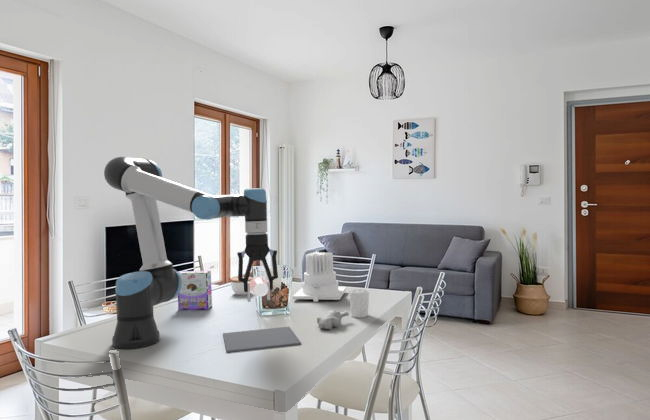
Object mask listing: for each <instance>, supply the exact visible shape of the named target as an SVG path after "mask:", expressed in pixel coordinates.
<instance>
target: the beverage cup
mask: <svg viewBox="0 0 650 420" xmlns="http://www.w3.org/2000/svg"><path fill="white" fill-rule="evenodd" d="M251 278H252V279H251V280H250V292H251V293H253V294H255V295H256V296H258V297H259V298H260V297H266V296H267V292H268V287H267V283H266V279H265V278H264V277H263V276H254V277H251Z"/></svg>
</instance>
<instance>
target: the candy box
mask: <svg viewBox="0 0 650 420" xmlns="http://www.w3.org/2000/svg"><path fill="white" fill-rule="evenodd" d="M178 273H179V274H180V276H181V280H182V286H181V290H180V292H179V293H178V295H177V303H178V304H177V306H178V308H177V309H178V311H188V310H189V311H191V310H193V311H194V310H195V311H198V310H199V311H200V310H203V311H204V310H205V311H206V310H210V309H211V308H212V307H213V295H212V289H213V287H212V271H211V270H189V271H186V270H184V271H179V272H178Z"/></svg>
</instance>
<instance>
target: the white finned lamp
mask: <svg viewBox="0 0 650 420" xmlns="http://www.w3.org/2000/svg"><path fill="white" fill-rule="evenodd" d="M336 273H337V272H336V271H334V254H333V253H332V252H324V251H323V252H319V251H313V252H310V253H307V254H305V272H304V273H303V281H302V282H301V288H300V289H299V290H298V291H296V293H294V295H292V300H313V301H312V302H314V303H318V302H319V300H321V301H322V300H325V301H326V300H331V301H332V300H334V301H335V300H336V301H337V300H339V301H340V300H341V299H342V297H343V295H344V294H345V292H346V291H347V287H346V286H339V281H338V280H337V276H336V275H337V274H336Z"/></svg>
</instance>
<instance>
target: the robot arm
mask: <svg viewBox="0 0 650 420" xmlns="http://www.w3.org/2000/svg"><path fill="white" fill-rule="evenodd" d="M103 170H104V172H103V173H104V174H103V175H104V179H105V182H106V183H107V184H108V185H109V186H110V187H112V188H113V189H116V190H118V191H122V192H125V197H126V198H127V199H129V200H130V201H131V206H132V211H133V217H134V222H135V223H134V224H135V227H136V232H137V239H138V244H139V251H140V254H141V259H142V265H141V267H140V268H139V271H133V272H129V273H125V274H122V275H120V276H119V277H117V279H116V281H115V291H114V292H115V301H116V303H115V305H116V326H115V329H114V333H113V336H112V339H111V341H112V342H111V344H112V347H113V348H116V349H123V350H129V349H131V348H132V349H139V348H144V347H149V346H152V345H154V344H156V343H158V342H159V341H160V340H161V339H160V338H161V335H160V331H159V330H158V326H157V323H156V320H155V318H154V317H155V315H154V306H157V305H160V304H163V303H166V302H170V301H171V300H172V299H174V298H176V297H178V293H179V292H180V290H181V286H182V280H181V276H180V274H179V272H178V270H176V269H175V268H174V266H173V263H172V262H171V261H170V260H168V257H167V252H166V247H165V239H164V235H163V230H162V224H161V218H160V214H159V208H158V202H157V201H159V202H161V203H164V204H166V205H170V206H172V207H175V208H178V209H182V210H184V211H186V212H189V213H192V214H193V215H194V216H195V217H196V218H197V219H201V220H207V221H208V220H213V219H218V218H230V217H231V218H232V217H244V223H245V224H244V225H245V227H244V232H245V233H246V234H245V248H244V250H242V251H237V253H236V255H237V257H238V267H237V268H238V269H237V273H238V274H237V277H238V280H239V281H241V282H243V283H244V291H245V292H247V294H246V299H247V302H248V303H250V302H252V301H251V290H250V282H248V278H249V277H250V275H251V271H252V267H253V264H254V262H257V261H261V263H262V264H263V267H264V271H265V273H266V276H267V278H268V279H265V281H266V283H267V287H268V292H267V294H266V300H267V301H271V291H273V289H274V283H273V282H274V280H276V279H278V278H279V275H278V265H277V264H278V263H277V254H278V251H277V250H276V249H271V248H270V247H269V237H268V235H269V234H268V233H267V232H268V217H267V216H268V215H267V214H268V210H267V209H268V208H267V206H268V205H267V203H268V201H267V191H266V189H264V188H245V189H244V190H243V194H217V195H215V194H213V195H212V194H209V193H206V192H203V191H201V190H198V189H195V188H192V187H189V186H186V185H183V184H181V183H178V182H176V181H175V182H174V181H172V180H169V179H166V178H164V177H163V174H162V169H161V167H160V166H159V165H158V164H157V162H155V161H153V160H151V159H147V158H142V157H141V158H139V157H126V156H119V157H114V158H112V159H111V160H109V161H108V162H107V164H105V167H104V169H103ZM245 254H246V256H247V257H248V262H247V266H246V270H245V273H244V272H243V271H244V270H243V267H244V265H243V264H244V258H245ZM268 254H269V255H270V257H271V264H272V266H271V267H272V272H271V270H270V267H269V265H268V260H267V258H266V257H267V256H268ZM243 273H244V274H243ZM242 277H244V278H242Z"/></svg>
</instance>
